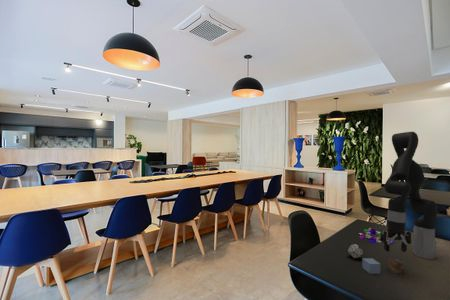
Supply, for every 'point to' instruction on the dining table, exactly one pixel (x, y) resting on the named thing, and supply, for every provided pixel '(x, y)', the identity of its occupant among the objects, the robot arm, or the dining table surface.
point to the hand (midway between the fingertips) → (395, 251)
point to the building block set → (370, 233)
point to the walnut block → (396, 265)
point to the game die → (355, 251)
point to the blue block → (371, 265)
